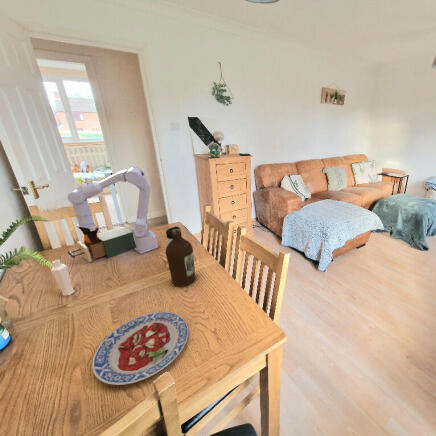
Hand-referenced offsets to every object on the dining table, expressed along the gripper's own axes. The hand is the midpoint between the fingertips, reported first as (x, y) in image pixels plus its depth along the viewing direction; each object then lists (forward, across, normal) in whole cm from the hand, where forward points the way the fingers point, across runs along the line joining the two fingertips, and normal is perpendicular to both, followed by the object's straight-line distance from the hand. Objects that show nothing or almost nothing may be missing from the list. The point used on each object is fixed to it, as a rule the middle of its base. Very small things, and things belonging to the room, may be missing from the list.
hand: (91, 239), depth 118 cm
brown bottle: (+10, +52, +16) cm, 55 cm away
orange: (+1, 0, 0) cm, 1 cm away
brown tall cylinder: (+10, +40, +20) cm, 46 cm away
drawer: (+9, 0, -1) cm, 9 cm away
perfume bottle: (+10, +23, -18) cm, 30 cm away
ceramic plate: (+10, +73, -12) cm, 75 cm away
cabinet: (+10, 0, +10) cm, 13 cm away
